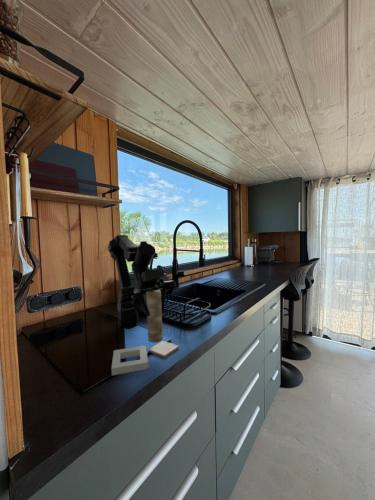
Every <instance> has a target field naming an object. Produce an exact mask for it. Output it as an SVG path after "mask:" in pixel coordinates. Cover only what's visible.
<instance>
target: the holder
mask: <svg viewBox="0 0 375 500" xmlns="http://www.w3.org/2000/svg"><path fill="white" fill-rule="evenodd" d="M133 357H139V359H136V360H135V359H134V360H130V361H124V362H123V361H122V360H123V359H129V358H133ZM110 369H111V376H117V375H123V374H128V373H133V372H139V371H144V370H149V359H148V353H147V345H140V346H133V347H127V348H121V349H116V350H115V349H114V350H113V355H112V362H111V368H110Z"/></svg>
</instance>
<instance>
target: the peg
mask: <svg viewBox="0 0 375 500" xmlns="http://www.w3.org/2000/svg"><path fill="white" fill-rule="evenodd" d="M146 299H147V308H148V310H149V314H150V315H149V317H148V316H147V315H146V319H147V339H148V340H147V341H148V342H149V343H158V342H159V343H160V342H162V341H163V337H164V336H163V313H162V308H161V291H160V290H149V291H147V292H146Z"/></svg>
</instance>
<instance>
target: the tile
mask: <svg viewBox="0 0 375 500" xmlns="http://www.w3.org/2000/svg"><path fill="white" fill-rule="evenodd" d="M178 349H179V345H177V344H174V343H171V342H167V341H166V340H161V341H159V343H158V342H157V343H156V344H155V345H154V346H152V347H150V348H148V352H149V351H150V352H149V353H151V354H154V355H156V356H158V357H161V358H164V359H165V358H167V357H168V356H170V355H171V354H172V353H174V352H176V351H177V350H178Z"/></svg>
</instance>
